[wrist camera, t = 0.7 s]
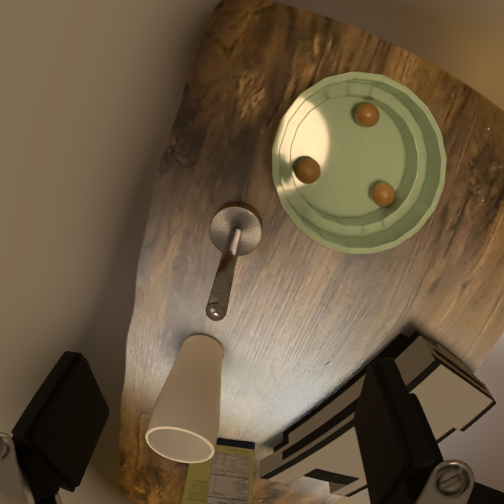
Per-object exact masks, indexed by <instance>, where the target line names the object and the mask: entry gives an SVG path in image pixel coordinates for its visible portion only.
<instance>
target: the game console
mask: <svg viewBox="0 0 504 504" xmlns="http://www.w3.org/2000/svg"><path fill="white" fill-rule="evenodd" d="M388 357H392V358H393V359H394V361H395V363H396V365H397V368H398V370H399V372H400V374H401V376H402V379H403V381H404V383H405V385H406V388H407V390H408V392H409V393H414V394H415V395H416V396H417V397H418V399H419V401H420V404H421V406H422V408H423V411H424V413H425V415H426V418H427V420H428V422H429V425H430V427H431V430H432V432H433V434H434V437H435V439H436V442H437V444H438V443H439V442H441V441H442V440H443V439H445V438H446V437H447V436H449V435H450V434H451V433H453V432H454V431H455V430H457V429H458V430H461V431H465V430H466V429H467V428H468V427H470V426H471V425H472V424H473V423H474V422H476V421H477V420H478V419H479V418H480V417H481V416H483V415H484V414H485V413H486V412H487V411H488V410H490V409H491V408H492V407H493V406H494V405H495V404H496V402H495V400H494V399H493V397H492V396H491V394H490V392H489V390H488V389H487V387H486V386H485V384H483V383H482V382H481V381H480V380H479V379H477V377H476V376H474V375H473V374H472V373H471V371H470V370H469V368H468V367H467V366H465V365H464V364H463V363H462V362H460V361H459V360H458V359H456V358H455V357H454V356H453V355H451V354H450V353H449V352H447V351H446V350H445V349H444V348H442V347H441V346H440V345H438V344H437V343H435V344H433V343H431V342H430V341H429V340H427V339H426V338H425V337H423V336H422V335H421V334H419V333H418V332H417V331H415V332H414V333H413V334H412V335H411V336H410V337H409V338H407V337H406V336H404V335H403V334H401V333H400V334H399V335H398V336H397V337H396V338H395V339H394V340H393V341H392V342H391V343H390V344H389V345H388V346H387V347H386V348H385V349H384V350H383V351H382V352H381V353H380V354H379V355H378V356H377V357H376V358H374V359H379V358H388ZM374 359H373V360H372V361H371V362H370V363H369V364H373V361H374ZM369 364H368V365H369ZM368 365H367V366H366V367H365V368H364V369H362V370H361V371H360V372H359V373H358V374H357V375H356V376H354V377H353V378H352V379H351V380H350V381H349V382H347V383H346V384H345V385H344V386H343V387H342V388H340V389H339V390H338V391H337V392H336V393H334V394H333V395H332V396H331V397H329V398H328V399H327V400H326V401H324V402H323V403H322V404H321V405H319V406H318V407H317V408H316V409H314V410H313V411H312V412H310V413H309V414H308V415H306V416H305V417H304V418H302V419H301V420H300V421H298V422H297V423H296V424H294V425H293V426H291V427H290V428H289V429H287V430H286V431H284V432H283V442H281V443H280V444H278V445H277V446H275V447H274V453H273V454H271V455H269V456H268V457H266V458H265V459H263V460H261V461H260V478H264V479H267V480H271V481H274V482H278V483H282V484H288V483H290V482H292V481H294V480H296V479H297V478H299V477H301V476H306V477H310V478H315V479H319V480H323V481H328V482H329V486H330V494H334V495H340V496H347V497H350V496H352V495H354V494H356V493H358V492H360V491H362V490H364V489H366V488H368V487H367V482H366V477H365V472H364V468H363V463H362V458H361V454H360V449H359V445H358V440H357V436H356V431H355V427H354V414H355V411H356V407H357V404H358V400H359V397H360V393H361V390H362V386H363V382H364V378H365V375H366V371H367V367H368Z"/></svg>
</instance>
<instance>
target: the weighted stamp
mask: <svg viewBox="0 0 504 504" xmlns="http://www.w3.org/2000/svg"><path fill="white" fill-rule="evenodd" d="M261 236H262V221H261V218H260V216H259V214H258V212H257V211H256V210H255V209H254V208H253V207H252V206H250V205H248V204H246V203H243V202H231V203H227V204H225V205H223V206H222V207H221V208H219V209H218V211H217V212H216V213H215V215H214V217H213V219H212V221H211V224H210V237H211V240H212V242H213V244H214V245H215V247H216V248H217V249H218V250H220V251H221V252H223V253H222V256H221V259H220V263H219V266H218V269H217V273H216V276H215V279H214V283H213V286H212V290H211V293H210V296H209V300H208V303H207V307H206V314H207V316H208V317H209V318H210V319H211V320H213V321H220V320H222V319H223V318H224V317H225V316H226V313H227V308H228V302H229V297H230V292H231V286H232V281H233V276H234V271H235V265H236V260H237V256H243V255H246V254H248V253H250V252H252V251H253V250H254V249H255V248H256V247H257V246H258V244H259V242H260V240H261Z"/></svg>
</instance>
